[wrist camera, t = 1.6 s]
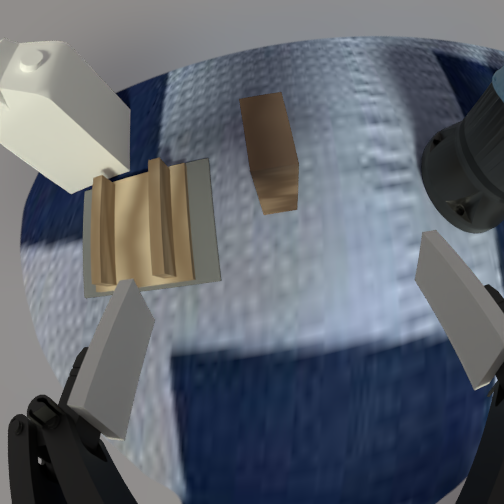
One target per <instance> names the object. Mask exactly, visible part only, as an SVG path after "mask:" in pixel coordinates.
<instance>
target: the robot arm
mask: <svg viewBox="0 0 504 504" xmlns="http://www.w3.org/2000/svg"><path fill="white" fill-rule="evenodd" d="M492 79H493V81H492V83H491V84H490V85H489V87H488V88H487V89H486V91H485V92H484V93H483V95H482V96H481V97H480V99H479V100H478V101H477V103H476V104H475V105H474V106H473V108H472V109H471V110H470V112H469V113H468V114H467V116H466V117H465V118H464V119H463V121H460V122H458V123H456V124H454V125H452V126H449V127H447V128H445V129H443V130H441V131H439V132H438V133H437V134H435V135H434V136H433V138H432V139H431V140H430V142H429V143H428V144H427V146H426V148H425V150H424V152H423V156H422V163H421V169H422V177H423V181H424V185H425V188H426V190H427V193H428V195H429V197H430V199H431V201H432V202H433V204H434V205H435V207H436V208H437V210H438V211H439V212H440V213H441V215H442V216H443V217H444V218H445V219H446V220H447V221H449V222H450V223H451V224H452V225H454V226H455V227H457V228H459V229H461V230H463V231H465V232H469V233H483V232H486V231H488V230H490V229H492V228H494V227H496V226H498V225H499V224H500V223H501V222H502V221H503V220H504V65H503V67H502V68H501V69H499V70H498V71H496V72H495V74H494V76H493V78H492ZM415 281H416V283H417V285H418V286H419V288H420V289H421V291H422V293H423V294H424V296H425V298H426V299H427V301H428V303H429V304H430V306H431V308H432V309H433V311H434V313H435V315H436V316H437V318H438V320H439V322H440V323H441V325H442V327H443V329H444V331H445V332H446V334H447V336H448V338H449V340H450V342H451V344H452V345H453V347H454V349H455V351H456V353H457V355H458V357H459V359H460V361H461V363H462V365H463V367H464V369H465V371H466V373H467V376H468V378H469V380H470V382H471V384H472V386H473V389H474V390H476V389H478V388H481V387H483V386H485V385H487V384H489V383H490V381H491V380H492V378H493V377H494V376H495V375H496V377H497V379H498V381H497V382H496V383H495V385H494V386H493V387H492V389H491V390H490V391H489V393H488V395H487V396H488V397H490V395H491V394H492V393H493V392H494V393H493V397H492V402H491V406H490V410H489V414H488V418H487V421H486V425H485V428H484V432H483V435H482V438H481V441H480V444H479V447H478V450H477V453H476V456H475V459H474V461H473V464H472V467H471V469H470V472H469V474H468V477H467V479H466V481H465V484H464V486H463V488H462V490H461V493H460V495H459V497H458V499H457V501H456V504H504V298H503V297H502V296H501V295H500V293H499V292H498V291H497V290H496V289H494V288H493V287H492V286H490V285H489V284H488V285H485V286H483V285H482V283H481V282H480V281H479V280H478V278H477V277H476V276H475V274H474V273H473V272H472V271H471V270H470V268H469V267H468V266H467V265H466V263H465V262H464V261H463V260H462V259H461V258H460V256H459V255H458V254H457V253H456V252H455V251H454V249H453V248H452V247H451V246H450V245H449V244H448V243H447V242H446V240H445V239H444V238H443V237H442V236H441V235H440V234H439V233H438V232H437V231H436V230H433V231H427V232H422V239H421V246H420V253H419V259H418V265H417V271H416V276H415ZM154 323H155V319H154V318H153V316H152V314H151V312H150V310H149V308H148V306H147V305H146V303H145V301H144V299H143V297H142V295H141V293H140V291H139V289H138V287H137V285H136V283H135V281H134V279H126V280H120V281H119V282H118V284H117V286H116V288H115V291H114V293H113V295H112V297H111V299H110V301H109V303H108V305H107V307H106V309H105V312H104V314H103V316H102V318H101V320H100V323H99V325H98V327H97V329H96V332H95V334H94V336H93V338H92V341H91V343H90V345H89V347H84V348H83V350H82V351H81V352H80V353H79V355H78V356H77V357H76V360H75V362H74V365H73V369H72V370H71V372H70V377H68V380H67V382H66V385H65V387H64V390H63V393H62V395H61V398H60V401H59V404H58V405H57V404H56V403H55V402H54V401H53V400H52V399H50V398H49V397H48V396H46V395H39V396H37V397H35V398H34V399H33V400H32V401H31V403H30V404H29V406H28V409H27V417H28V418H27V417H26V416H25V415H23V414H18V415H16V416H15V417H13V419H12V420H11V422H10V424H9V428H8V464H9V479H10V490H11V499H12V504H138V503H137V502H136V500H135V498H134V497H133V495H132V494H131V492H130V490H129V489H128V487H127V486H126V484H125V482H124V480H123V479H122V477H121V475H120V473H119V472H118V470H117V468H116V466H115V465H114V463H113V461H112V459H111V457H110V455H109V453H108V451H107V449H106V447H105V445H104V443H103V442H102V440H101V439H100V434H101V433H102V434H103V435H105V436H106V437H107V438H109V439H114V440H122V441H125V437H126V433H127V428H128V423H129V419H130V414H131V410H132V406H133V401H134V397H135V393H136V389H137V385H138V381H139V377H140V373H141V369H142V366H143V362H144V358H145V354H146V351H147V347H148V344H149V340H150V337H151V333H152V330H153V326H154ZM38 457H39V458H41V459H42V463H41V464H39V463H38Z"/></svg>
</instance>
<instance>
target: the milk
mask: <svg viewBox="0 0 504 504" xmlns="http://www.w3.org/2000/svg"><path fill="white" fill-rule="evenodd" d="M130 111H131V110H130V109H129V108H128V107H127V105H126V104H125V103H124V102H123V101H122V100H121V99H120V98H119V97H118V96H117V95H116V94H115V93H114V91H113V90H112V89H111V88H110V87H109V86H108V85H107V84H106V83H105V82H104V81H103V80H102V79H101V78H100V76H99V75H98V74H97V73H96V72H95V71H94V70H93V69H92V68H91V67H90V66H89V65H88V64H87V62H86V61H84V59H83V58H82V57H81V56H80V55H79V54H78V53H77V52H76V51H75V50H74V49H73V47H72V46H71V45H69V44H68V43H65V42H62V41H43V42H29V43H21V44H19V43H17V42H15V41H12V40H9V39H6V38H3V39H2V40H0V144H2V145H3V146H5V147H6V148H7V149H8V150H10V151H11V152H13V153H14V154H15V155H16V156H18V157H19V158H21V159H22V160H23V161H25V162H26V163H27V164H29V165H30V166H32V167H33V168H34V169H36V170H37V171H39V172H40V173H41V174H43V175H44V176H46V177H47V178H49V179H50V180H51V181H53V182H54V183H56V184H57V185H59V186H60V187H62V188H63V189H65V190H66V191H67V192H69V193H70V194H72V193H74V192H76V191H79V190H81V189H84V188H86V187H89V186H91V185H93V178H94V177H97V176H100V175H103V176H104V177H106V178H107V179H109V178H112V177H114V176H117V175H120V174H123V173H125V172H128V171H130Z"/></svg>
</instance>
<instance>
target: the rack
mask: <svg viewBox="0 0 504 504" xmlns="http://www.w3.org/2000/svg"><path fill="white" fill-rule="evenodd" d="M91 279H92V284H94V285H96V292H108V291H115V288H116V286H117V284H118V282H119V281H120V280H126V279H134V281H135V283H136V285H137V287H138V288H139V287H147V286H154V285H161V284H169V283H176V282H183V281H190V280H196V278H195V268H194V258H193V247H192V236H191V224H190V211H189V197H188V181H187V166H186V164H185V163H181V164H177V165H173V166H169V167H167V165H166V164H165V163H164V162H163V161H162V160H161V159H160V158H156V159H152V160H149V161H148V172H146V173H142V174H139V175H135V176H132V177H128V178H125V179H122V180H118V181H115V182H111V181H110V180H109V179H107V178H106V177H104V176H103V175H100V176H97V177H94V178H93V188H92V206H91Z"/></svg>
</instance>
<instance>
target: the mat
mask: <svg viewBox="0 0 504 504" xmlns="http://www.w3.org/2000/svg"><path fill="white" fill-rule="evenodd" d="M185 164H186V166H187V181H188V197H189V211H190V224H191V236H192V247H193V258H194V268H195V278H196V280H190V281H183V282H176V283H169V284H161V285H154V286H147V287H139V288H138V289H139V291H140V292H141V291H149V290H157V289H165V288H172V287H180V286H187V285H194V284H202V283H209V282H216V281H221V274H220V265H219V257H218V248H217V239H216V229H215V220H214V210H213V200H212V190H211V179H210V168H209V159H208V158H206V159H201V160H197V161H192V162H188V163H185ZM91 206H92V189H91V190H88V191H85V198H84V217H83V277H84V296H85V298H91V297H100V296H108V295H113V293H114V291H108V292H96V285H94V284H92V279H91Z"/></svg>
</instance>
